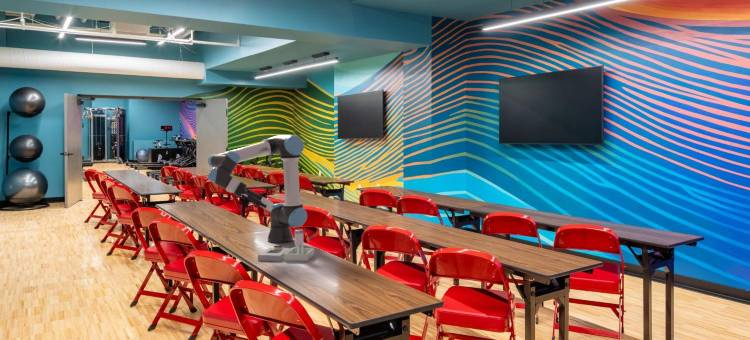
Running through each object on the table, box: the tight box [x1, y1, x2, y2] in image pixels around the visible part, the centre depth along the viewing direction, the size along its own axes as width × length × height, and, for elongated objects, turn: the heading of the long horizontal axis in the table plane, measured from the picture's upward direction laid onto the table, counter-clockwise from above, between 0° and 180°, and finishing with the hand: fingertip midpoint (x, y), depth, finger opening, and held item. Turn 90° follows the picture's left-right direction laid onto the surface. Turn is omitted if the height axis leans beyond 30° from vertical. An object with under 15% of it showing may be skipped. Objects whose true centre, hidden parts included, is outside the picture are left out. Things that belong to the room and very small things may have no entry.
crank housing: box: [257, 245, 291, 262], centre depth 258 cm, size 16×12×5 cm
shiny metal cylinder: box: [294, 228, 304, 254], centre depth 255 cm, size 4×4×14 cm
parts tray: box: [283, 247, 315, 263], centre depth 255 cm, size 14×12×4 cm
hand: (271, 207), depth 262 cm, fingers open, 13 cm apart
